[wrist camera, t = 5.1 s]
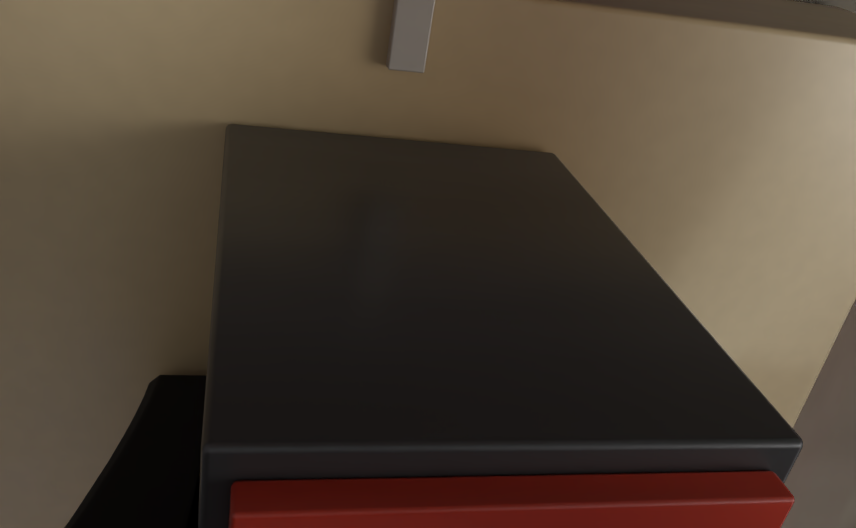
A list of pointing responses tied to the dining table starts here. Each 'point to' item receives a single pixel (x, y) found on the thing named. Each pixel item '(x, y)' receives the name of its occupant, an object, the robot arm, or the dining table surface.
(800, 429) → the dining table surface
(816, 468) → the dining table surface
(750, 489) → the box
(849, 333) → the dining table surface
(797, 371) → the wooden stand
